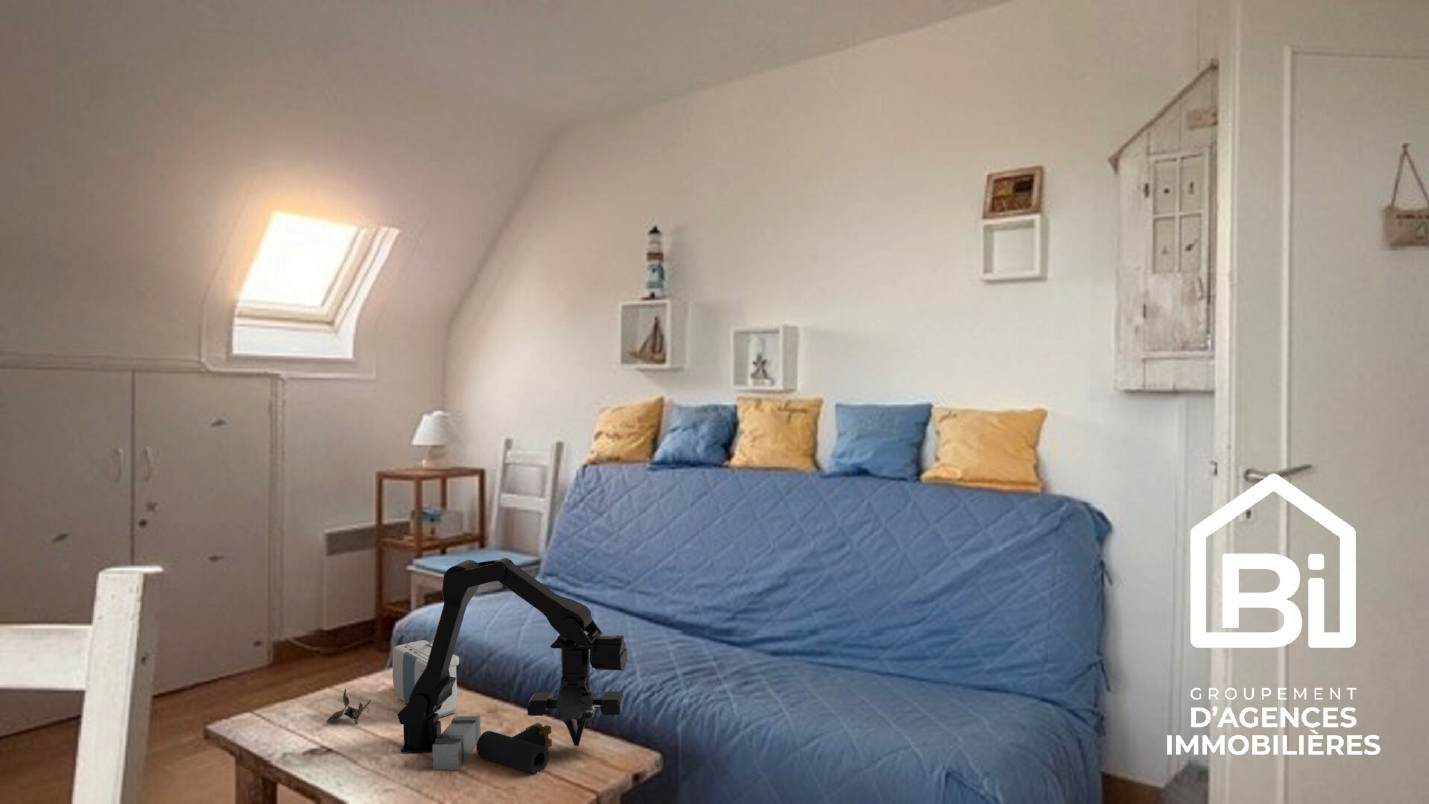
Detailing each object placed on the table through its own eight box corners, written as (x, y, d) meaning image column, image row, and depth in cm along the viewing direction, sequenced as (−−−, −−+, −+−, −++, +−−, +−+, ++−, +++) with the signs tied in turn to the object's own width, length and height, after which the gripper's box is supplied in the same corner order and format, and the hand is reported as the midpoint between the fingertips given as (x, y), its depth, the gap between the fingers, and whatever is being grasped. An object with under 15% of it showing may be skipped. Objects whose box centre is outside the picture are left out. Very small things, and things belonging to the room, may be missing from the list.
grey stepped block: (433, 770, 157) (432, 742, 157) (457, 739, 171) (456, 714, 171) (458, 769, 157) (458, 742, 156) (480, 739, 171) (480, 713, 170)
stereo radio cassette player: (392, 700, 195) (389, 617, 195) (425, 691, 200) (423, 611, 200) (427, 724, 179) (425, 635, 179) (462, 713, 185) (460, 627, 185)
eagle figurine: (377, 710, 185) (350, 698, 189) (366, 691, 181) (338, 679, 185) (352, 738, 180) (325, 725, 183) (340, 719, 176) (312, 706, 179)
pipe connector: (518, 714, 170) (570, 728, 162) (519, 739, 171) (572, 754, 163) (475, 735, 161) (529, 751, 153) (476, 761, 161) (530, 779, 153)
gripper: (519, 683, 155) (521, 764, 155) (615, 682, 155) (617, 763, 155) (533, 664, 166) (534, 739, 166) (623, 663, 166) (624, 738, 166)
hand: (576, 745), depth 163 cm, fingers closed
